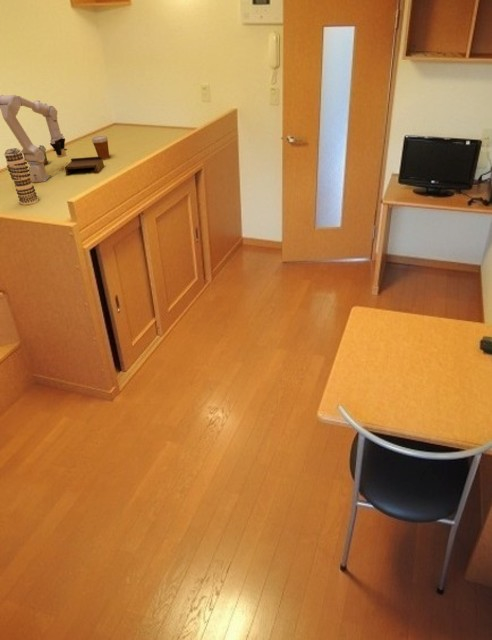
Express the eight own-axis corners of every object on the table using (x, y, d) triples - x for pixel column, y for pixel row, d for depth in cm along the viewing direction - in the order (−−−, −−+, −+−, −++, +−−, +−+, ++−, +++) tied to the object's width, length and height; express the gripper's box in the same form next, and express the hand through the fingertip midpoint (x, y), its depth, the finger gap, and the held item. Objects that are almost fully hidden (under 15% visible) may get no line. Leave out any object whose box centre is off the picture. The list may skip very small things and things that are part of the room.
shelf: (97, 173, 270) (95, 162, 267) (66, 175, 272) (63, 165, 268) (104, 166, 281) (101, 156, 278) (74, 168, 282) (71, 158, 279)
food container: (43, 167, 289) (37, 150, 283) (34, 167, 290) (28, 150, 285) (53, 161, 299) (48, 144, 293) (45, 161, 300) (39, 145, 295)
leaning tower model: (41, 197, 243) (25, 146, 229) (35, 203, 235) (18, 151, 221) (23, 199, 243) (5, 147, 229) (17, 205, 235) (-2, 153, 221)
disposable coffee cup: (93, 159, 295) (87, 139, 288) (103, 155, 302) (98, 135, 295) (104, 160, 291) (100, 140, 284) (115, 156, 298) (110, 136, 291)
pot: (67, 157, 277) (64, 147, 274) (53, 158, 277) (50, 148, 274) (70, 154, 281) (67, 145, 278) (56, 155, 281) (54, 146, 278)
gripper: (56, 131, 264) (63, 156, 272) (65, 125, 276) (72, 149, 284) (44, 132, 265) (51, 157, 272) (53, 126, 277) (60, 150, 284)
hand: (61, 153), depth 278 cm, fingers closed on pot, 5 cm apart
